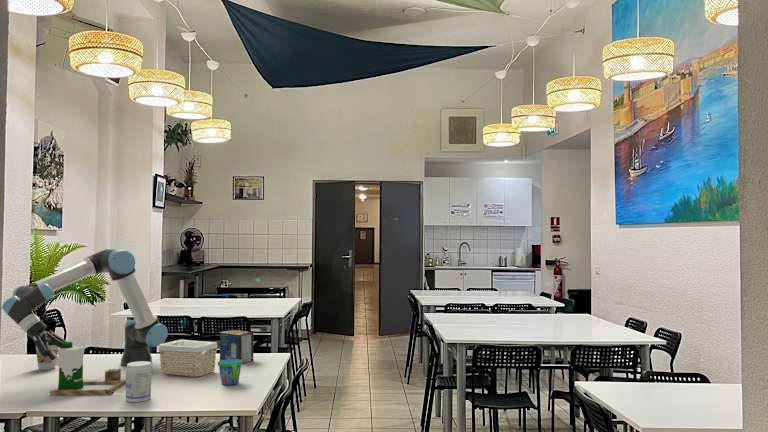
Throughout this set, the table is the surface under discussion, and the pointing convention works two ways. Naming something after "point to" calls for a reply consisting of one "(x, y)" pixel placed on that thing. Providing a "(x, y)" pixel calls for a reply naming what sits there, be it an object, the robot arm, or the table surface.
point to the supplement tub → (138, 381)
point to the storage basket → (188, 357)
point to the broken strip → (97, 380)
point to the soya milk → (70, 367)
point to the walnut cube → (113, 375)
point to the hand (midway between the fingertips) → (68, 361)
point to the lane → (90, 391)
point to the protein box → (236, 345)
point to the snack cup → (230, 371)
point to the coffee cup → (46, 358)
